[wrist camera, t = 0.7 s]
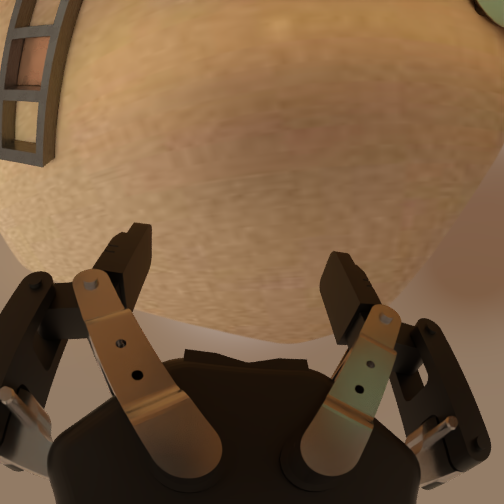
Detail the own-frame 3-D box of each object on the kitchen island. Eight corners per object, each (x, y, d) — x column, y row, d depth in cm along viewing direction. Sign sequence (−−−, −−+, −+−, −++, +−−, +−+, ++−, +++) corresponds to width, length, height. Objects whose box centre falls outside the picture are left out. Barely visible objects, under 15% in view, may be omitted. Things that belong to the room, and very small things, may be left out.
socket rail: (40, -28, 12) (27, -30, 10) (96, -36, 14) (85, -42, 12) (9, 150, 27) (-4, 158, 25) (54, 158, 29) (42, 167, 27)
